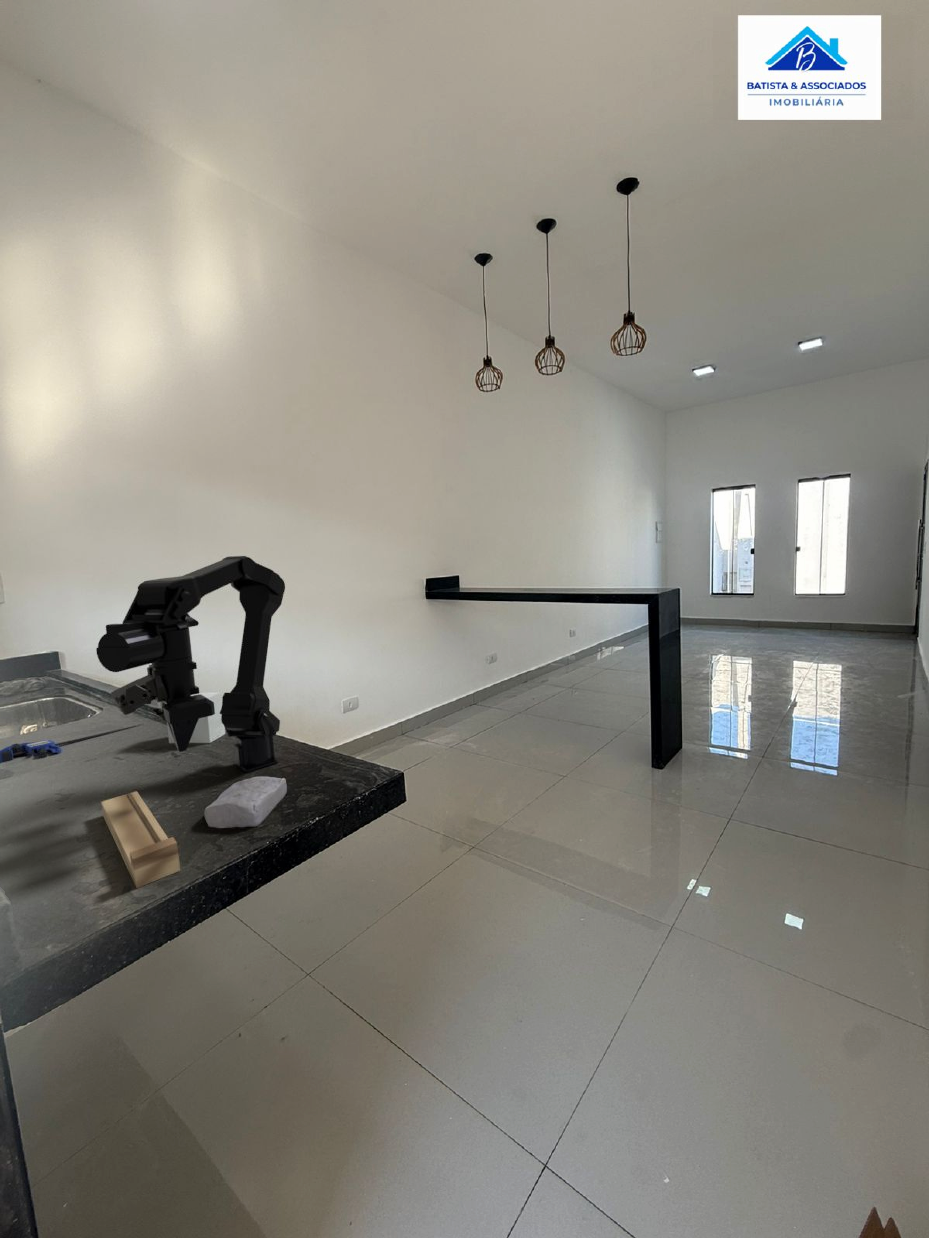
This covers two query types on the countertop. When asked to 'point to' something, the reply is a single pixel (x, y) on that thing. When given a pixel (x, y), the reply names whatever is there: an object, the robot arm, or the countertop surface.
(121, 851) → the wooden grooved rail
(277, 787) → the stone block
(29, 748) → the bar clamp
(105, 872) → the countertop surface
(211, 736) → the skincare box
